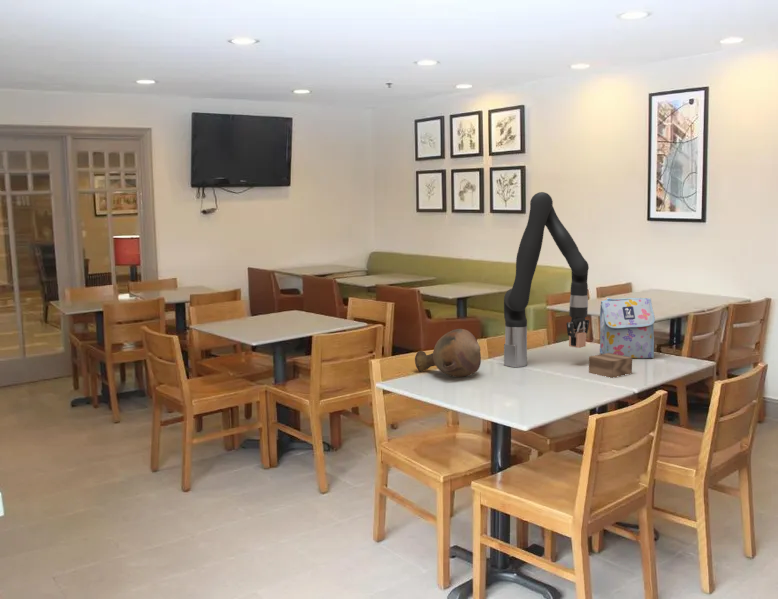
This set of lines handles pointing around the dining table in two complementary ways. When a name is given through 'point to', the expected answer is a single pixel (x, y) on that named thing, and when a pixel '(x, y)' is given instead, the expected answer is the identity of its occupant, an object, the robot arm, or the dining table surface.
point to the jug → (453, 354)
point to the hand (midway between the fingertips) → (577, 344)
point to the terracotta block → (579, 340)
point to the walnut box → (610, 365)
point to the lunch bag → (627, 327)
